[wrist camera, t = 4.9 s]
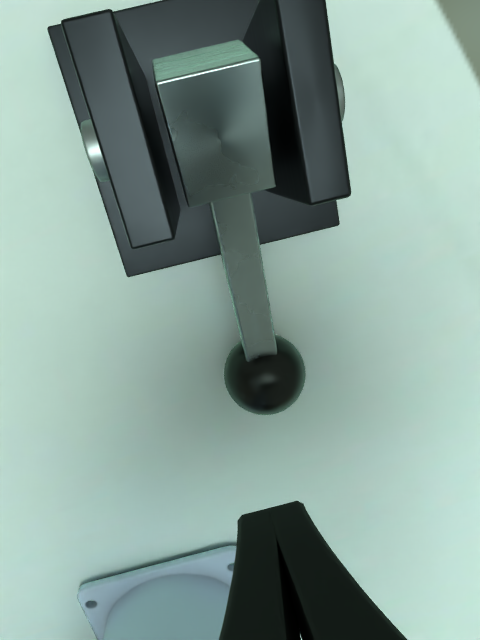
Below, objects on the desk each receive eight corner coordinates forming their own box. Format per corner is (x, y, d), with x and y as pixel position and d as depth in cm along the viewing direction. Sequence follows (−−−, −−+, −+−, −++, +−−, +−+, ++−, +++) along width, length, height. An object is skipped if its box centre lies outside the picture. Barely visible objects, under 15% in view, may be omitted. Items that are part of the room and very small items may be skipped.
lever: (296, 362, 19) (318, 420, 16) (226, 380, 19) (239, 440, 16) (254, 32, 11) (284, 54, 9) (134, 60, 11) (134, 90, 9)
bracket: (332, 222, 17) (425, 259, 10) (130, 271, 17) (90, 342, 10) (295, -21, 15) (388, -185, 8) (55, 35, 14) (-67, -83, 8)
